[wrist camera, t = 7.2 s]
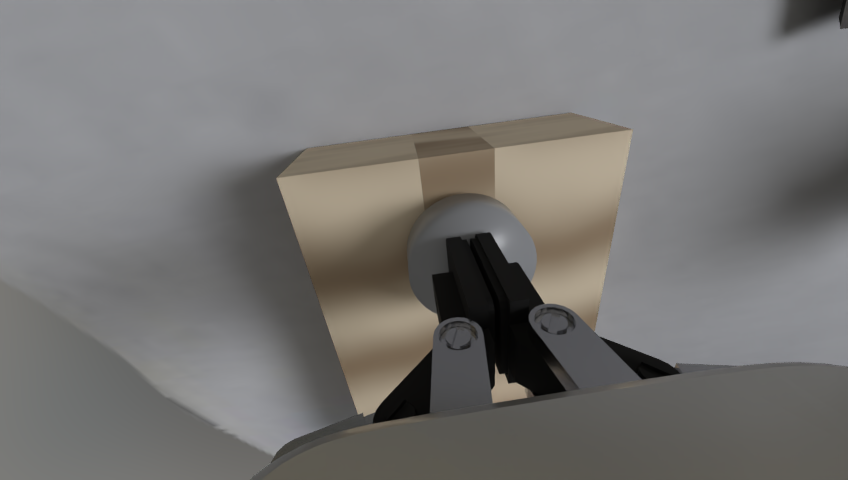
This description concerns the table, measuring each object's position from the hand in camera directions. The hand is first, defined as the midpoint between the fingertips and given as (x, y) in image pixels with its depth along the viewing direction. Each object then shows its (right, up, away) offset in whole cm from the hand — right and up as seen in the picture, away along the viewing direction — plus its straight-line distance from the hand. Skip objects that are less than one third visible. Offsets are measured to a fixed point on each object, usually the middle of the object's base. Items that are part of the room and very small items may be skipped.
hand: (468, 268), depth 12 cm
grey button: (0, +3, +6) cm, 7 cm away
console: (0, -3, +10) cm, 10 cm away
